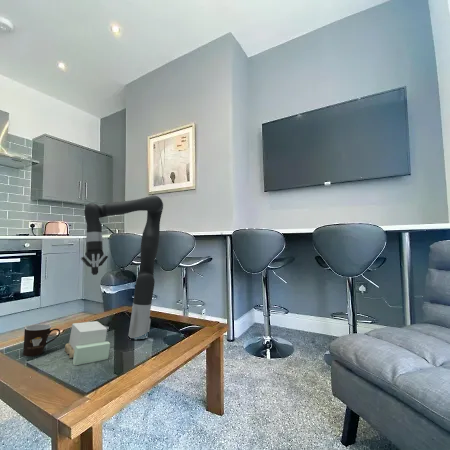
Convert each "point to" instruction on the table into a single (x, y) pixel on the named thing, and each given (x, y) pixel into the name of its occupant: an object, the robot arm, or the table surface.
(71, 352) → the roller front
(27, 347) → the coffee mug
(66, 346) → the roller rear
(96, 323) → the white stacked block
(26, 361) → the table surface
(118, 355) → the table surface
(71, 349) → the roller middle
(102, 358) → the block
